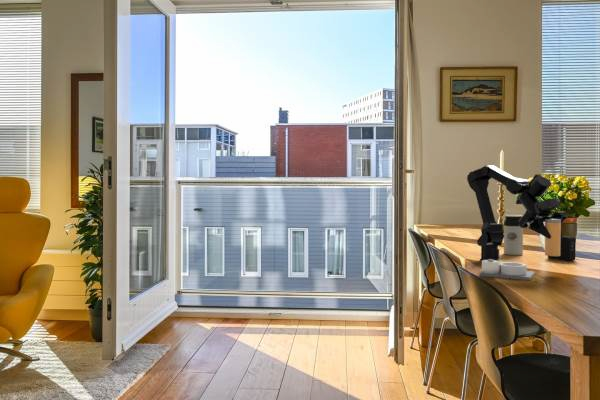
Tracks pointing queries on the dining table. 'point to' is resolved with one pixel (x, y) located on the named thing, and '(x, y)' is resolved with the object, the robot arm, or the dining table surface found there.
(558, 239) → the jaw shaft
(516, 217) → the travel mug
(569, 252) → the electronic device
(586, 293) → the dining table surface
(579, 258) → the dining table surface
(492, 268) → the housing
